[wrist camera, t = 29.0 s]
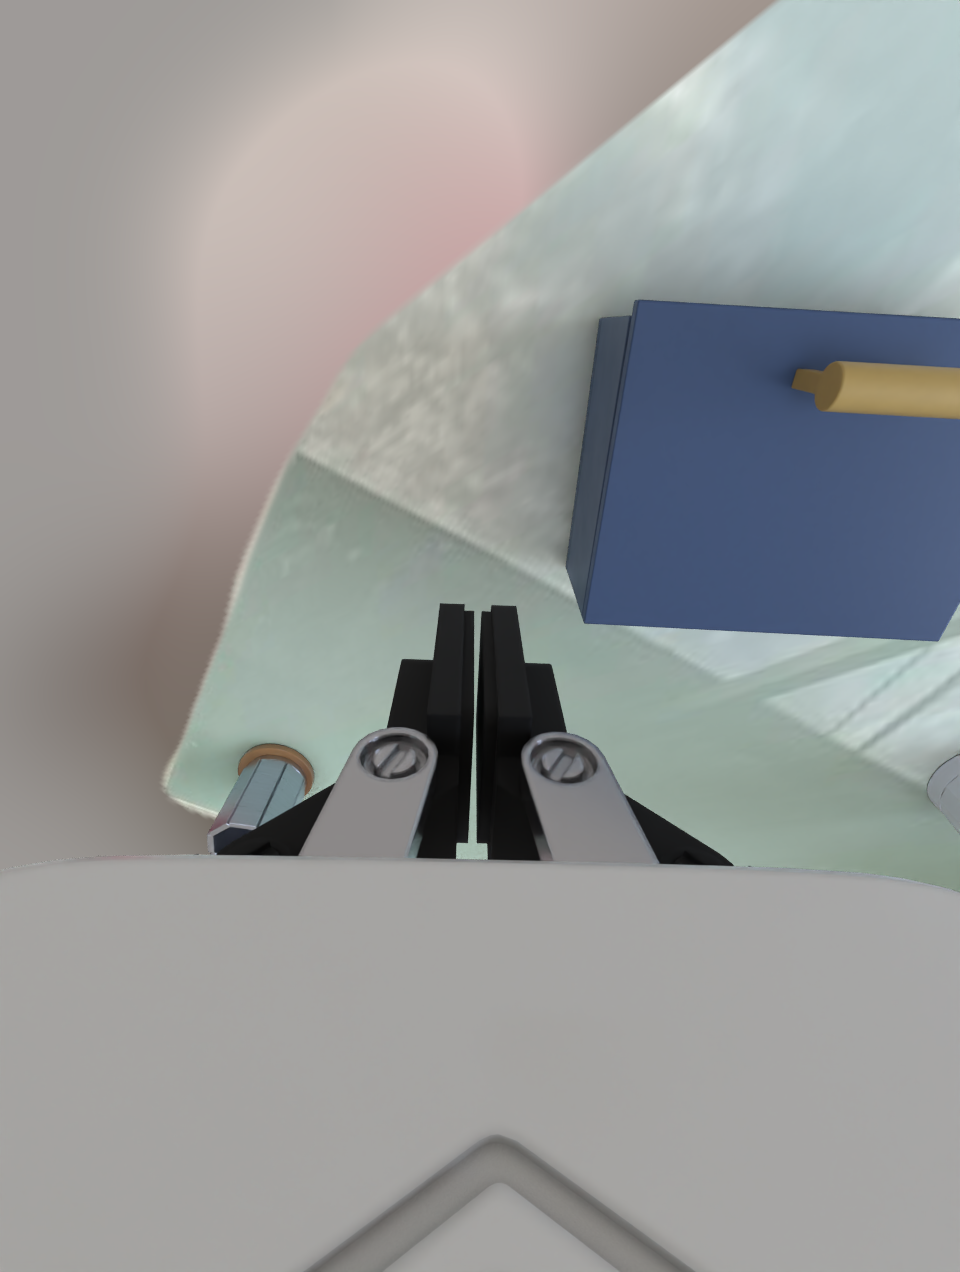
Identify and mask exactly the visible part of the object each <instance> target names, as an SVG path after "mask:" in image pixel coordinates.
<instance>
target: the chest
mask: <svg viewBox="0 0 960 1272" xmlns="http://www.w3.org/2000/svg"><path fill="white" fill-rule="evenodd" d="M631 318H632V316H620V317H607V318H600V320H599V327H598V334H597V342H596V349H595V356H594V364H593V371H592V378H591V385H590V393H589V400H588V407H587V415H586V422H585V429H584V437H583V444H582V451H581V459H580V466H579V473H578V481H577V488H576V495H575V503H574V510H573V517H572V525H571V532H570V539H569V546H568V554H567V561H566V569H567V572H568V575H569V578H570V581H571V584H572V587H573V590H574V593H575V597H576V600H577V603H578V606H579V609H580V612H581V615H583V608H584V602H585V596H586V590H587V584H588V578H589V572H590V566H591V560H592V554H593V548H594V542H595V536H596V530H597V524H598V518H599V512H600V506H601V500H602V494H603V487H604V481H605V475H606V469H607V463H608V457H609V451H610V445H611V439H612V433H613V427H614V421H615V415H616V409H617V403H618V397H619V391H620V385H621V379H622V373H623V366H624V360H625V354H626V348H627V342H628V336H629V330H630V324H631Z"/></svg>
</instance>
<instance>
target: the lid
mask: <svg viewBox="0 0 960 1272" xmlns="http://www.w3.org/2000/svg"><path fill="white" fill-rule="evenodd" d="M959 603H960V319H956V318H940V317H923V316H906V315H889V314H872V313H855V312H838V311H822V310H805V309H788V308H771V307H754V306H737V305H720V304H704V303H687V302H670V301H653V300H635V302H634V306H633V312H632V318H631V324H630V330H629V336H628V342H627V348H626V354H625V360H624V366H623V373H622V379H621V385H620V391H619V397H618V403H617V409H616V415H615V421H614V427H613V433H612V439H611V445H610V451H609V457H608V463H607V469H606V475H605V481H604V487H603V494H602V500H601V506H600V512H599V518H598V524H597V530H596V536H595V542H594V548H593V554H592V560H591V566H590V572H589V578H588V584H587V590H586V596H585V602H584V608H583V615H582V618H583V621H584V623H586V624H606V625H625V626H645V627H665V628H685V629H704V630H724V631H744V632H763V633H783V634H803V635H822V636H842V637H862V638H881V639H901V640H921V641H939V639H940V638H941V636H942V634H943V632H944V630H945V629H946V627H947V625H948V623H949V621H950V620H951V618H952V616H953V614H954V612H955V611H956V609H957V607H958V605H959Z"/></svg>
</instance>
